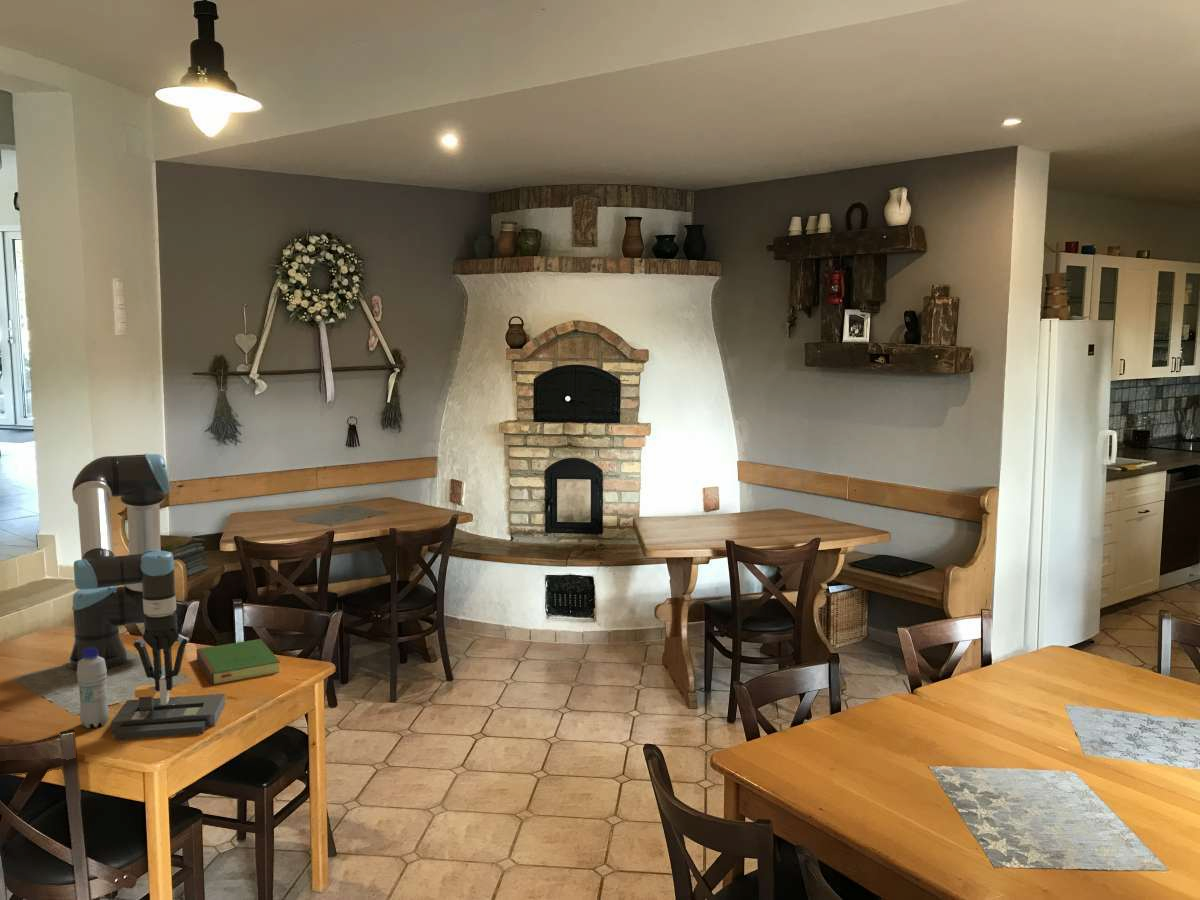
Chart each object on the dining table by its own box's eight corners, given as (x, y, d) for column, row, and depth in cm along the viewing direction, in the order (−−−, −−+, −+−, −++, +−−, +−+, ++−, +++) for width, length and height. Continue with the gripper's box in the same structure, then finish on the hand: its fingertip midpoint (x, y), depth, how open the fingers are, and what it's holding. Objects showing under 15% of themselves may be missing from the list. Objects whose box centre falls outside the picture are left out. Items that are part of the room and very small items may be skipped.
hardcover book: (197, 661, 285) (196, 649, 284) (261, 650, 294) (260, 638, 294) (212, 687, 264) (211, 674, 263) (281, 674, 273) (280, 662, 273)
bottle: (97, 731, 233) (92, 653, 230) (73, 728, 234) (68, 651, 232) (116, 720, 239) (111, 644, 237) (93, 717, 241) (88, 642, 238)
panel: (127, 711, 245) (127, 699, 245) (225, 704, 250) (224, 692, 250) (111, 733, 232) (110, 721, 231) (214, 725, 236) (214, 713, 236)
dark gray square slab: (139, 706, 248) (138, 699, 248) (219, 700, 252) (219, 694, 252) (115, 740, 228) (114, 732, 228) (202, 733, 232) (202, 726, 232)
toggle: (139, 711, 240) (137, 685, 240) (157, 710, 241) (156, 684, 240) (136, 716, 238) (134, 690, 237) (154, 714, 238) (153, 688, 238)
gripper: (128, 618, 232) (133, 710, 235) (184, 615, 235) (188, 706, 238) (136, 610, 239) (141, 698, 242) (190, 607, 242) (195, 695, 245)
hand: (164, 702), depth 240 cm, fingers closed
